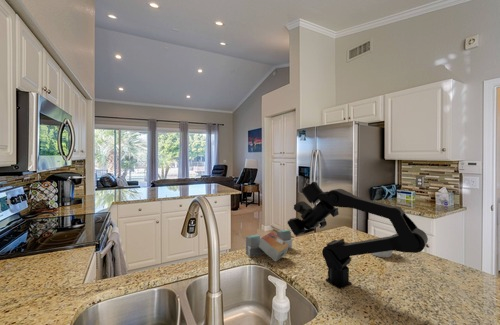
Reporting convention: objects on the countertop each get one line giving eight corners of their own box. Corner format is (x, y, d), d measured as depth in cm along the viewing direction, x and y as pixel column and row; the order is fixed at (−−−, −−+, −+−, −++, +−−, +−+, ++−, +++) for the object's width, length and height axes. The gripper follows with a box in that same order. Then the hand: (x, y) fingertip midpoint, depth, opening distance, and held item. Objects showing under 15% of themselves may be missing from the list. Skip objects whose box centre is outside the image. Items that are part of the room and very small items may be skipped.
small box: (279, 253, 99) (261, 237, 105) (275, 262, 102) (257, 246, 107) (289, 245, 105) (272, 230, 111) (286, 254, 107) (268, 239, 113)
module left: (260, 254, 110) (260, 235, 109) (251, 256, 107) (251, 237, 107) (255, 251, 114) (255, 232, 114) (245, 253, 111) (245, 234, 111)
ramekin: (386, 249, 117) (386, 239, 116) (398, 259, 105) (398, 247, 105) (363, 248, 118) (363, 238, 118) (372, 258, 107) (372, 246, 106)
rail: (292, 248, 117) (293, 239, 117) (250, 258, 106) (251, 247, 106) (289, 246, 120) (289, 237, 120) (247, 255, 108) (247, 245, 108)
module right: (290, 248, 118) (290, 230, 118) (282, 249, 116) (282, 231, 116) (284, 244, 123) (284, 227, 123) (276, 246, 120) (276, 229, 120)
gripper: (320, 194, 100) (299, 214, 109) (291, 198, 88) (270, 221, 97) (337, 216, 94) (313, 236, 103) (308, 224, 82) (284, 246, 91)
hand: (295, 234), depth 99 cm, fingers closed
